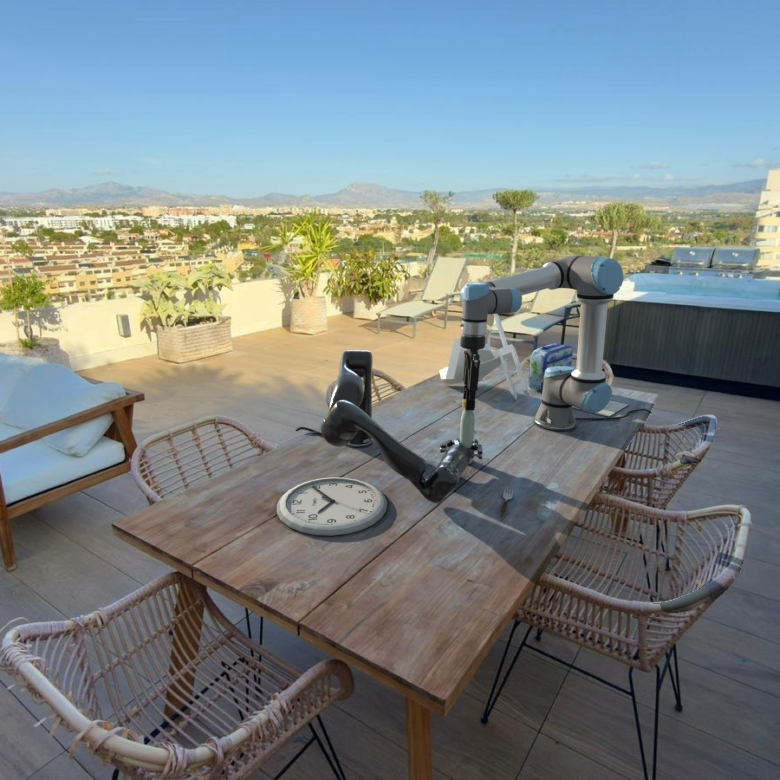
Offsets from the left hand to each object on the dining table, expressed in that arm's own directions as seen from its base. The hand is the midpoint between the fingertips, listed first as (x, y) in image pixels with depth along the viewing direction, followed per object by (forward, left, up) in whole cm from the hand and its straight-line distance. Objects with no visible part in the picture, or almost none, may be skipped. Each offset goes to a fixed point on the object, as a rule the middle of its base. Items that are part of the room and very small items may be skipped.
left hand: (468, 440), depth 172 cm
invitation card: (+42, +75, -6) cm, 86 cm away
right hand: (0, -3, +13) cm, 13 cm away
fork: (+17, -26, -6) cm, 32 cm away
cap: (0, -3, +14) cm, 15 cm away
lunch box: (+18, +95, -6) cm, 96 cm away
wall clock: (-27, -45, -6) cm, 53 cm away
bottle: (0, -3, -6) cm, 7 cm away
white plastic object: (-12, +74, -6) cm, 75 cm away
